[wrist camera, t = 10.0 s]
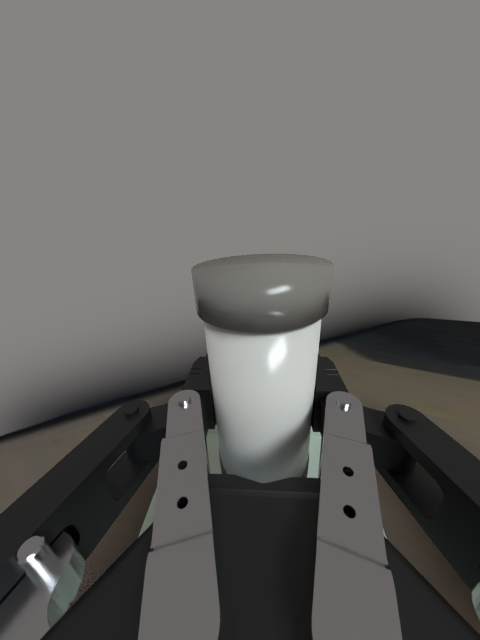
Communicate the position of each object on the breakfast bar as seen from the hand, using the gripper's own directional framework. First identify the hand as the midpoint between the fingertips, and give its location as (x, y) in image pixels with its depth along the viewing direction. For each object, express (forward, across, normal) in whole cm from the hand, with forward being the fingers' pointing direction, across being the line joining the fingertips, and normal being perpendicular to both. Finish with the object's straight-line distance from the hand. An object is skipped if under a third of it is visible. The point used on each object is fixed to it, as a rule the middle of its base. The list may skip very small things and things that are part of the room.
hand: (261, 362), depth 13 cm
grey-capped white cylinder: (-3, 0, +8) cm, 8 cm away
